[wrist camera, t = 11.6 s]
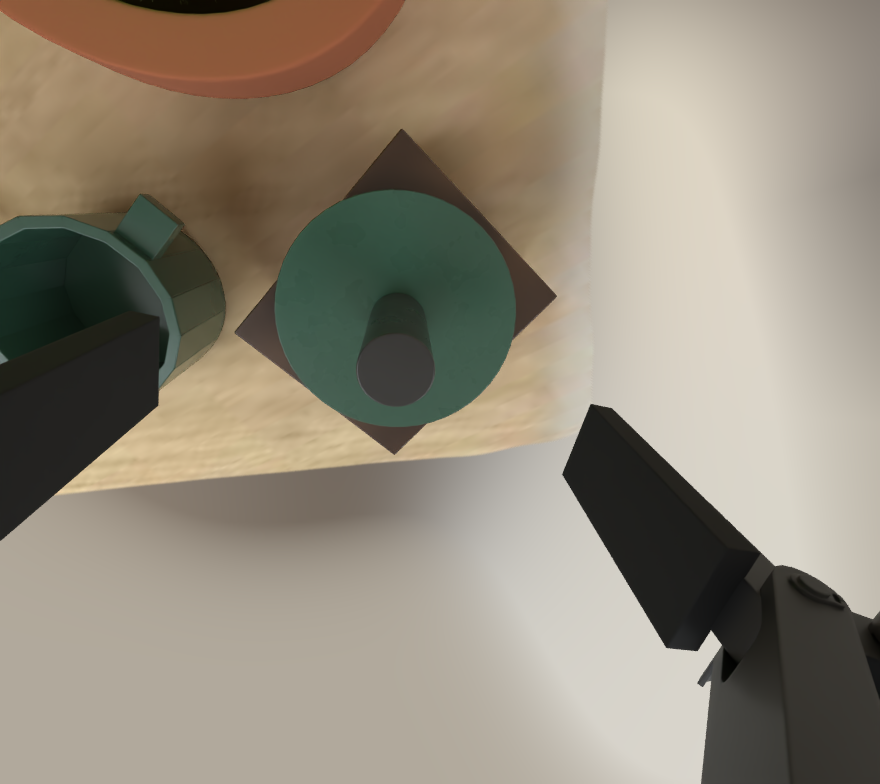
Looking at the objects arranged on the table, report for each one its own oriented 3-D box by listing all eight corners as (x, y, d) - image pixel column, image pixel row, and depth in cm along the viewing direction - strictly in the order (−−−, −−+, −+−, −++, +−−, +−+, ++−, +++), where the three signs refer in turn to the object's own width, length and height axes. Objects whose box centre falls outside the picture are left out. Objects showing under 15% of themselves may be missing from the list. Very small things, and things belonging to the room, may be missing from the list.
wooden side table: (282, 295, 35) (233, 332, 25) (402, 151, 32) (401, 127, 22) (396, 390, 39) (394, 455, 29) (514, 270, 36) (557, 296, 26)
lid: (231, 321, 25) (143, 382, 16) (387, 129, 22) (378, 83, 13) (405, 455, 29) (407, 560, 21) (557, 309, 26) (631, 361, 18)
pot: (13, 324, 35) (-92, 357, 27) (133, 143, 31) (47, 124, 23) (154, 416, 38) (96, 467, 31) (277, 265, 34) (243, 283, 27)
